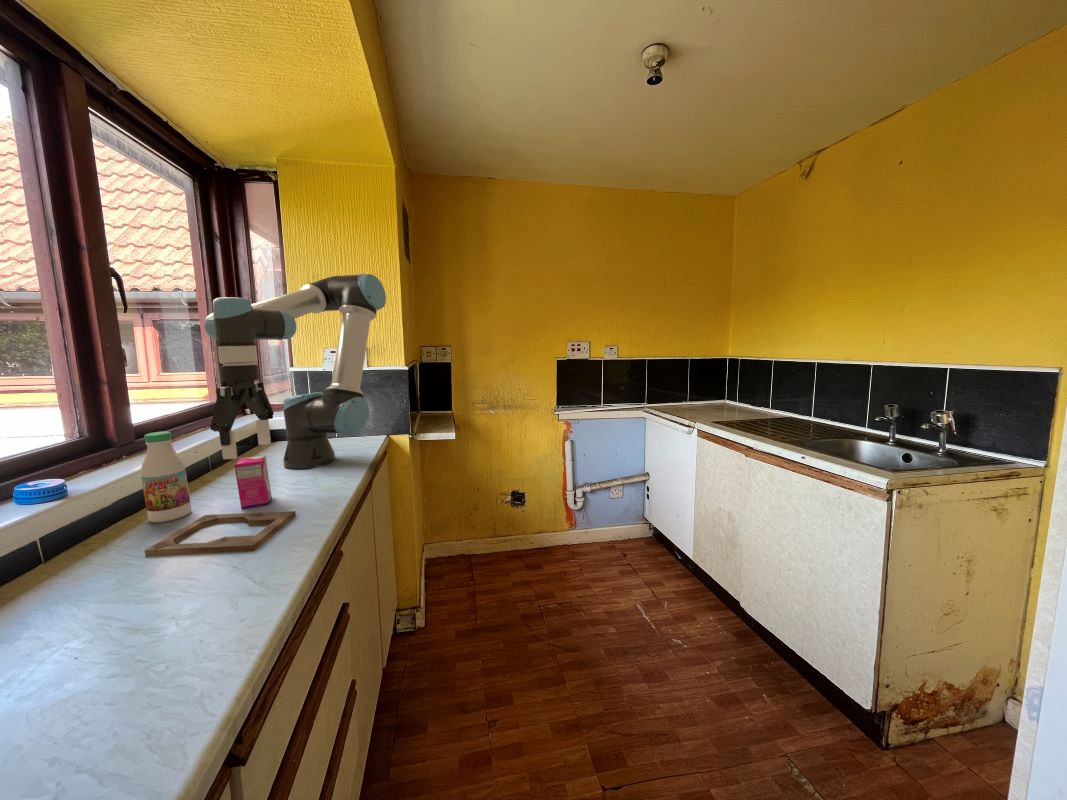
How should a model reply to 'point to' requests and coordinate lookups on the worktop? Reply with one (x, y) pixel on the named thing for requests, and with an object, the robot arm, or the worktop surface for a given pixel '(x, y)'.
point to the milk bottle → (164, 480)
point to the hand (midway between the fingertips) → (248, 451)
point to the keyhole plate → (226, 543)
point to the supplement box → (253, 482)
